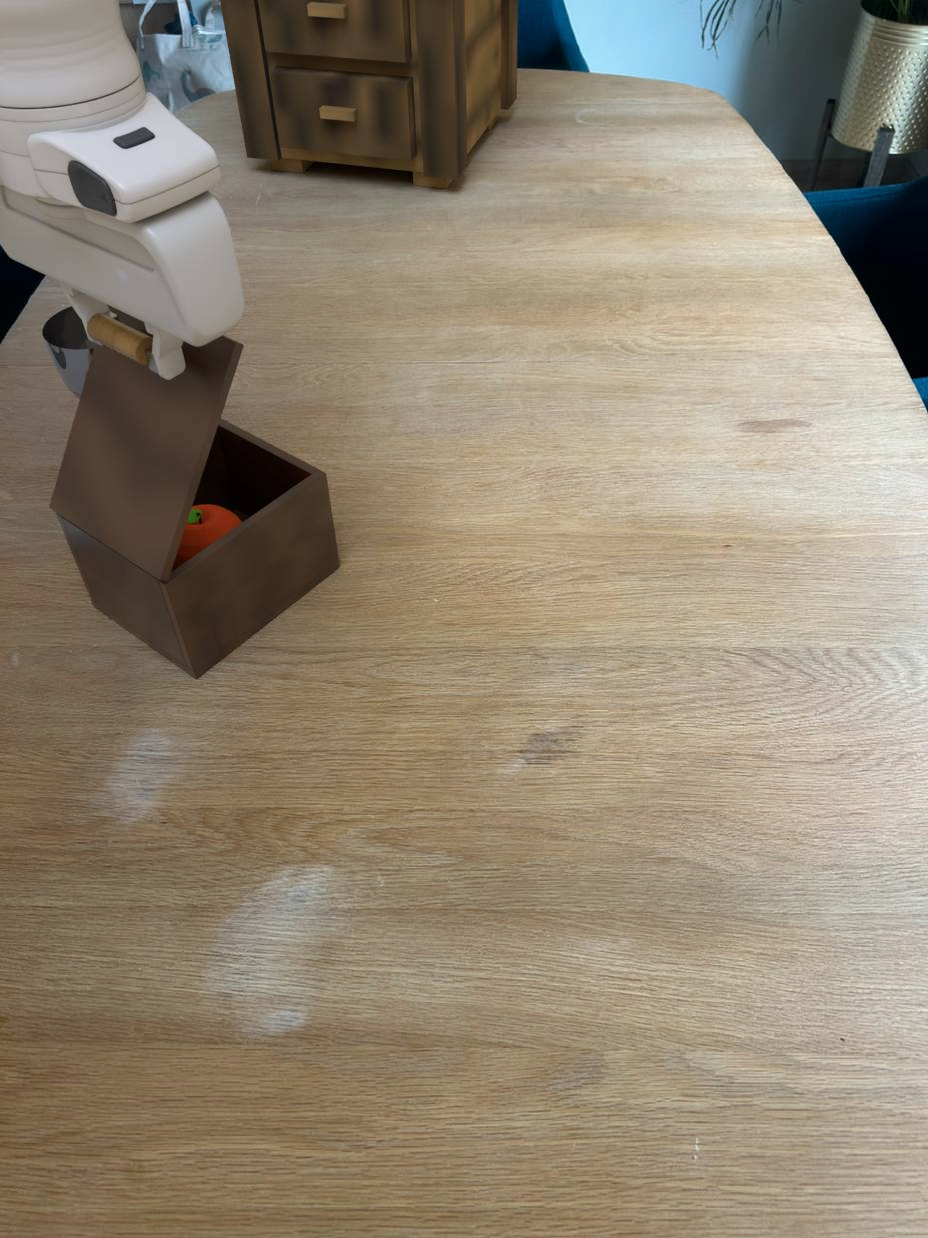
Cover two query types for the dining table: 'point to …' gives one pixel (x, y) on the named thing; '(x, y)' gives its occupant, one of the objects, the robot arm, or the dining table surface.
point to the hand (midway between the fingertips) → (137, 356)
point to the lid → (141, 441)
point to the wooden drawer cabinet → (371, 80)
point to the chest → (223, 556)
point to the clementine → (204, 530)
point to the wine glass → (69, 348)
